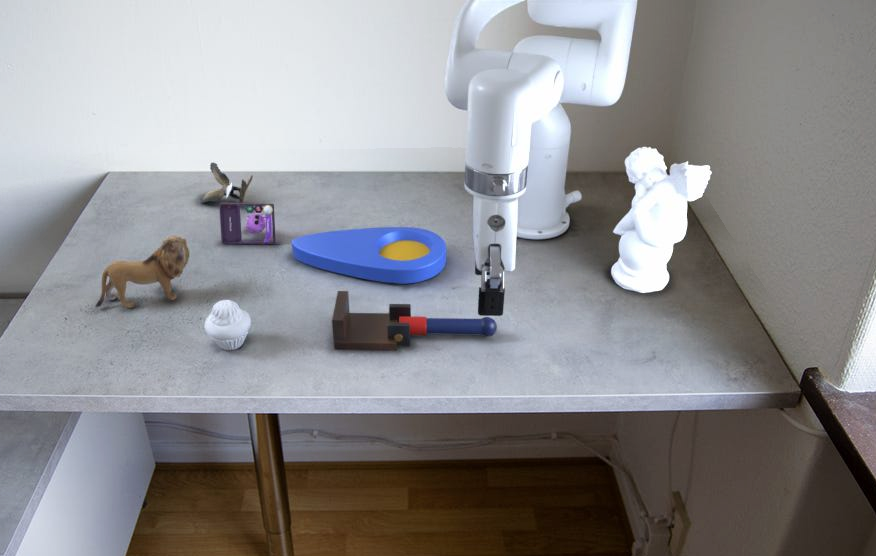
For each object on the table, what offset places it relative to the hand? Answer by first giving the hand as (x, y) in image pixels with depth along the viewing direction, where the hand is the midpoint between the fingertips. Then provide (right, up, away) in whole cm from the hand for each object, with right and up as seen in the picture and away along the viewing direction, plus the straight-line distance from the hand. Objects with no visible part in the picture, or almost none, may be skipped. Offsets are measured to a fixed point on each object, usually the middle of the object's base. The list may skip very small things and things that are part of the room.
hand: (488, 293), depth 103 cm
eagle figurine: (-45, +18, +38) cm, 61 cm away
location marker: (-17, +6, +21) cm, 28 cm away
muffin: (-35, -7, +4) cm, 36 cm away
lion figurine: (-50, 0, +13) cm, 51 cm away
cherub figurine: (+27, +3, +17) cm, 32 cm away
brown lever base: (-16, -6, +5) cm, 17 cm away
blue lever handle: (-5, -6, +5) cm, 9 cm away
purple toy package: (-37, +10, +27) cm, 47 cm away
